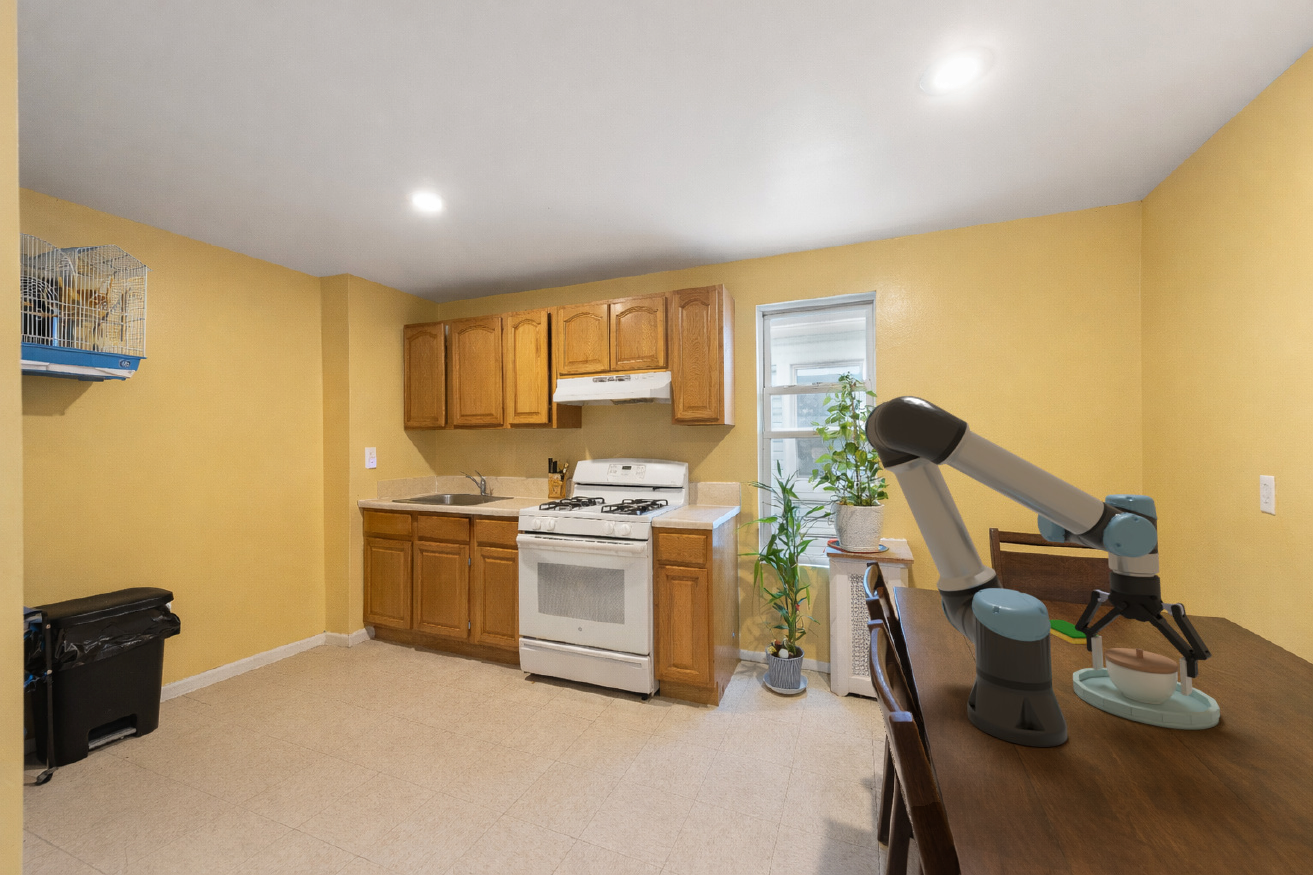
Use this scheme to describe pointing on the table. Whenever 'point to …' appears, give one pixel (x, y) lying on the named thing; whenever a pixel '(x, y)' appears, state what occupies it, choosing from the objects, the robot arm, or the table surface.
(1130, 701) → the round tray
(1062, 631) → the dish sponge
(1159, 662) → the lidded jar
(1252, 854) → the table surface
